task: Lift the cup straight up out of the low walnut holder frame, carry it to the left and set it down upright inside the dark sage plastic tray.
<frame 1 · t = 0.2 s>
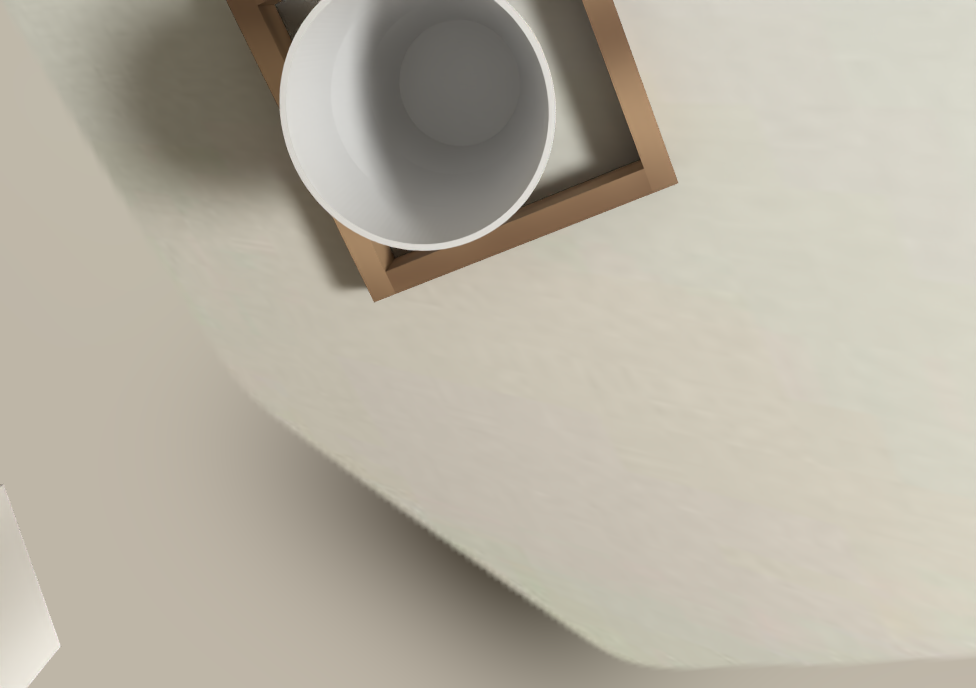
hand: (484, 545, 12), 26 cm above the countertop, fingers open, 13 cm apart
holder: (459, 82, 35), on the countertop
cup: (460, 82, 35), resting in holder
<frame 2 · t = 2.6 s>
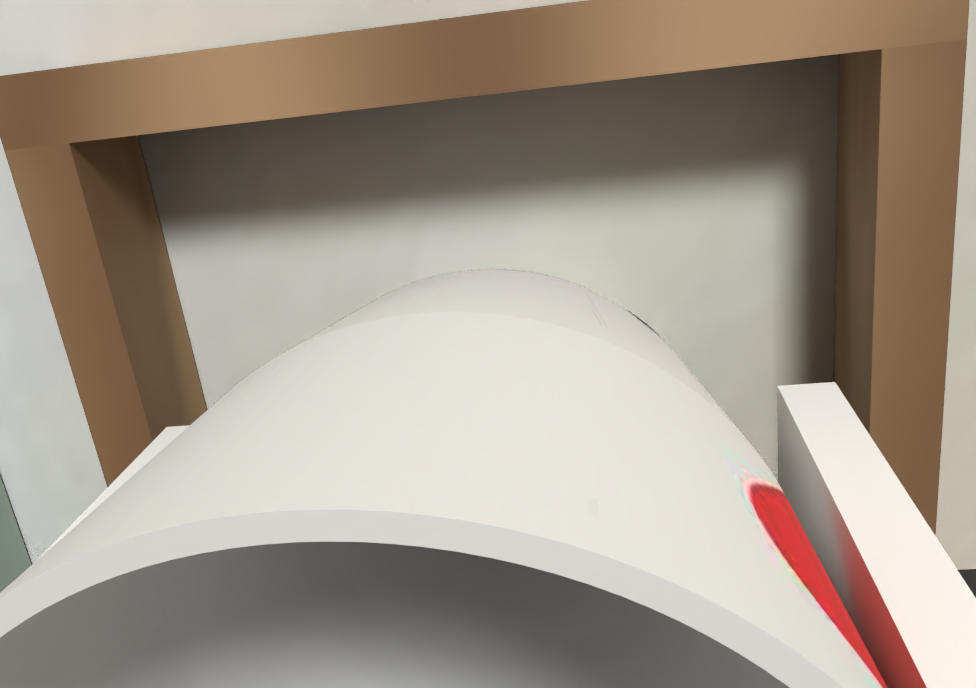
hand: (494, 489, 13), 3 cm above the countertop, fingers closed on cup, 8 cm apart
holder: (507, 408, 16), on the countertop
cup: (508, 403, 16), resting in holder, touching gripper
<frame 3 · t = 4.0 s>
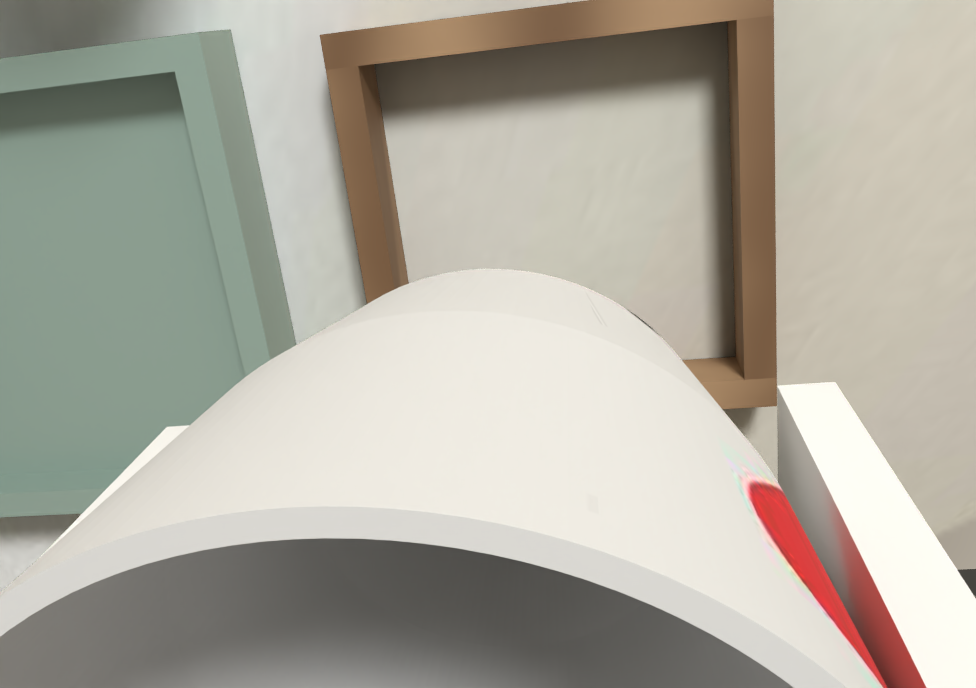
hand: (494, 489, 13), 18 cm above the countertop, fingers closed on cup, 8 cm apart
holder: (561, 214, 30), on the countertop
cup: (508, 402, 16), point 15 cm above the countertop, touching gripper
tray: (72, 287, 33), on the countertop
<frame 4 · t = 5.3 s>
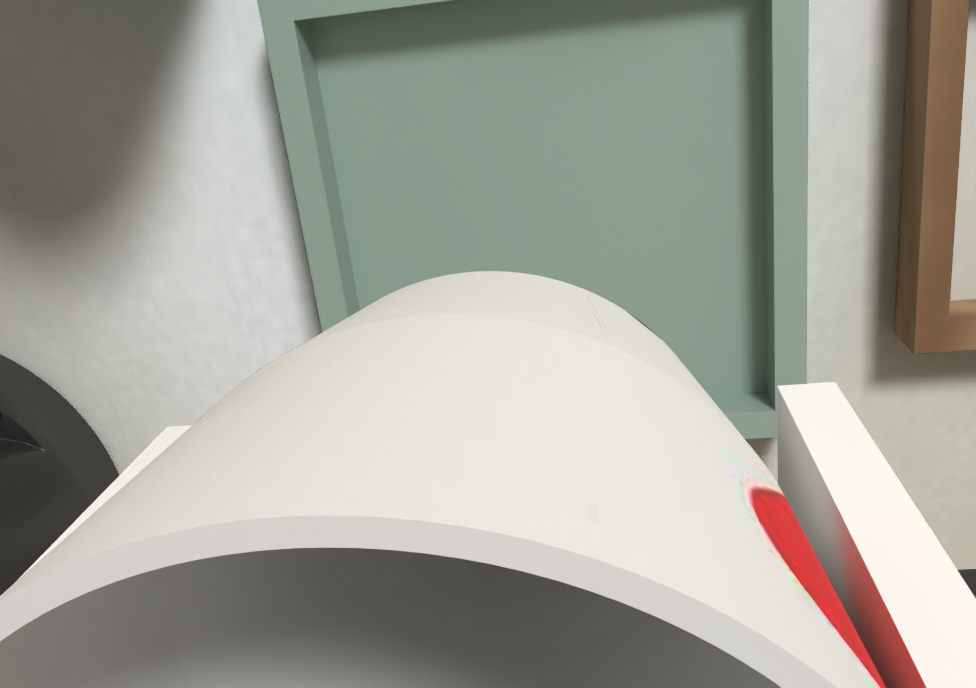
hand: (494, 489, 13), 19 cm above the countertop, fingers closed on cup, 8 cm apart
cup: (508, 405, 16), point 16 cm above the countertop, touching gripper
tray: (549, 208, 31), on the countertop
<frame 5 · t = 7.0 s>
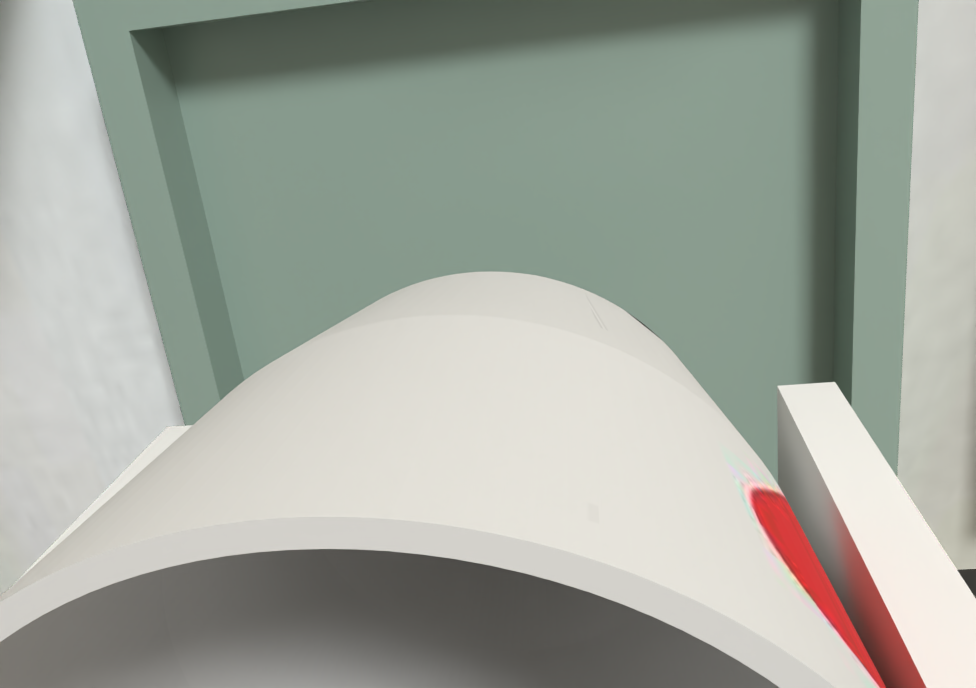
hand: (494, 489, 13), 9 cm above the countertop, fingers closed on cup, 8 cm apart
cup: (508, 405, 16), point 6 cm above the countertop, touching gripper
tray: (523, 295, 22), on the countertop
when the fingers open (5 cm above the countertop, at t = 8.3 s): cup drops 1 cm, resting on tray.
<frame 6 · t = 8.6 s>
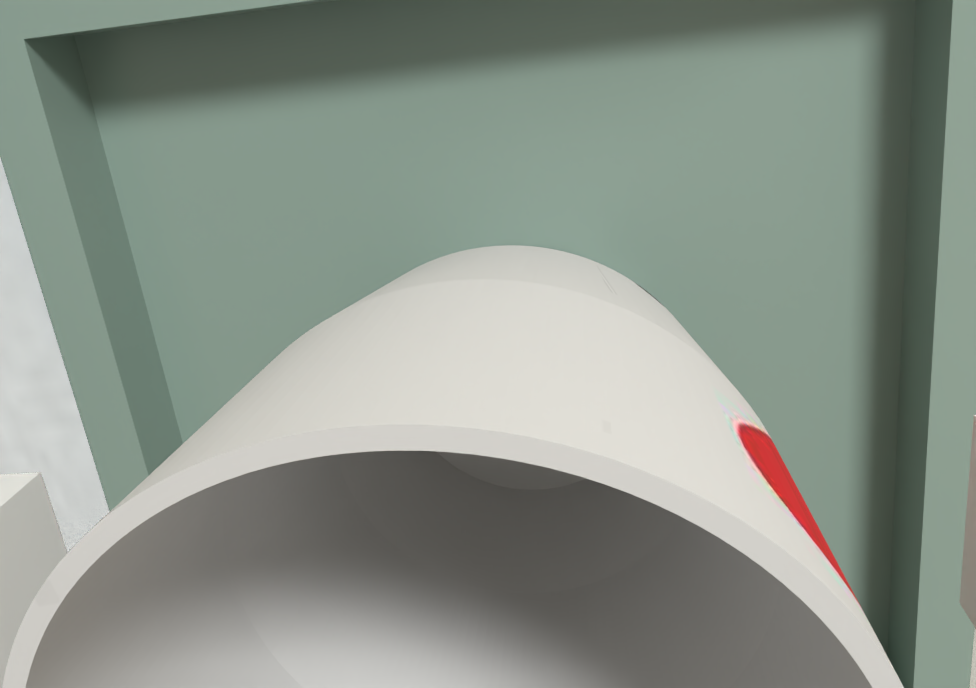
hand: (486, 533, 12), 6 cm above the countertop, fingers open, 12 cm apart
cup: (524, 371, 17), point 1 cm above the countertop, touching tray
tray: (519, 355, 18), on the countertop
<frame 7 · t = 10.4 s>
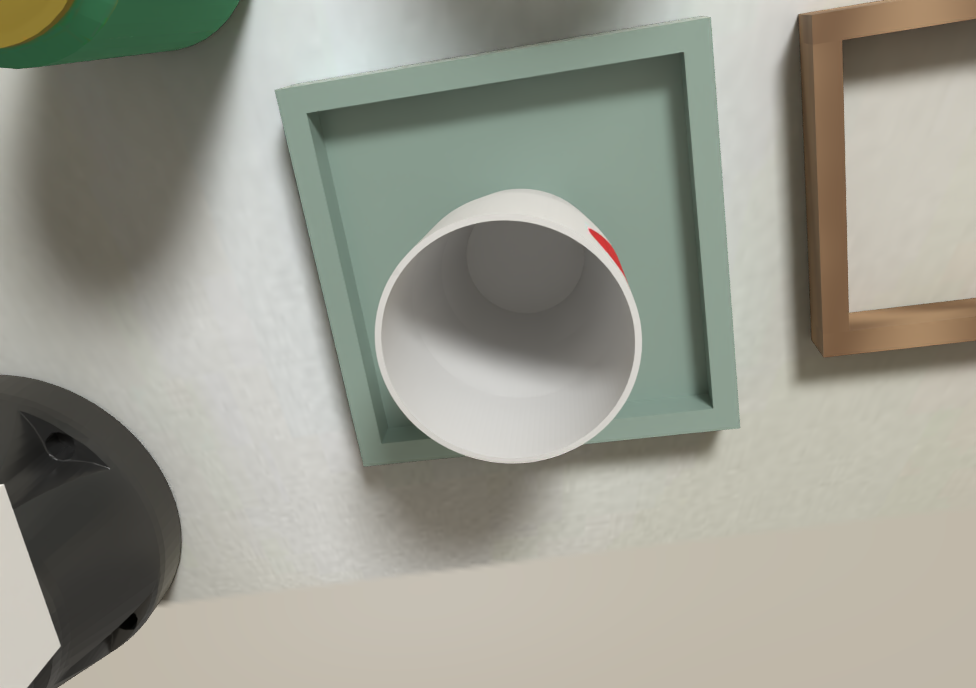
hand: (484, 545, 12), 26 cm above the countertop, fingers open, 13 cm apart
cup: (524, 254, 36), point 1 cm above the countertop, touching tray
tray: (521, 250, 37), on the countertop
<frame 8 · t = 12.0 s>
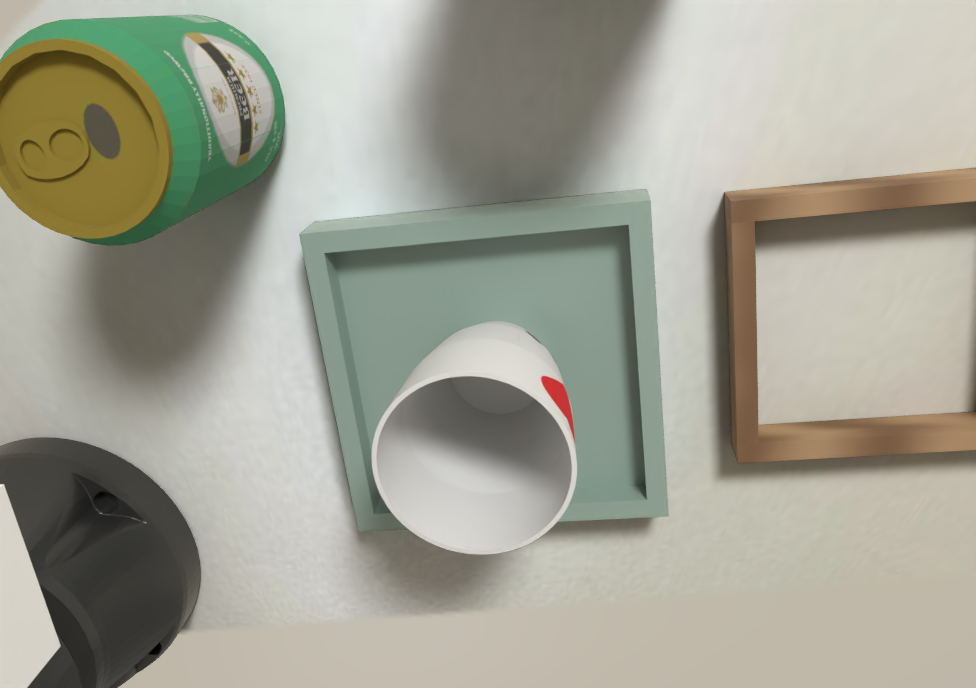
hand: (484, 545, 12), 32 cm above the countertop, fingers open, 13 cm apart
holder: (868, 313, 42), on the countertop
beverage can: (210, 104, 42), on the countertop
cup: (497, 367, 44), point 1 cm above the countertop, touching tray
tray: (495, 361, 45), on the countertop
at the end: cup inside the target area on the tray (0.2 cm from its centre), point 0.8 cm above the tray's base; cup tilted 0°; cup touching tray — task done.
